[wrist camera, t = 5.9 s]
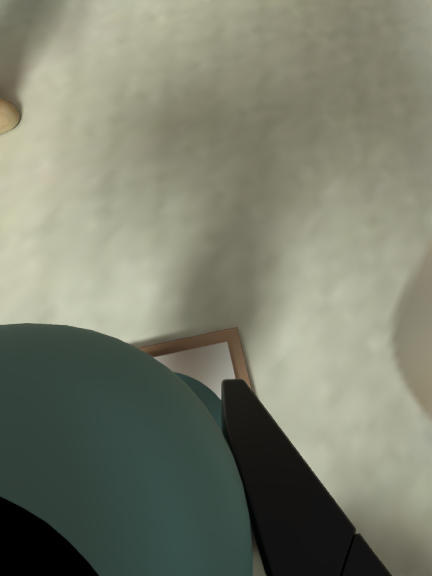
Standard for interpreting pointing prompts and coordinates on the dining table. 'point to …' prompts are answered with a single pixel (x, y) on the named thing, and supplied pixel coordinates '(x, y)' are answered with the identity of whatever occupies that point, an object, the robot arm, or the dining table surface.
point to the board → (204, 357)
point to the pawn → (112, 463)
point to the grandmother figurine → (8, 116)
